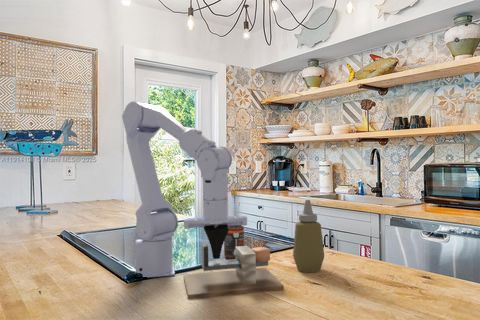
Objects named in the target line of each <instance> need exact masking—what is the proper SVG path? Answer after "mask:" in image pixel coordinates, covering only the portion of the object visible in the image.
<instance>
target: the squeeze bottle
mask: <svg viewBox="0 0 480 320" xmlns="http://www.w3.org/2000/svg"><path fill="white" fill-rule="evenodd" d="M294 226H295V227H294V228H295V229H294V239H293V250H292V251H293V252H292V257H293V260H294V263H295V267H296V269H297V270H298V271H300V272H304V273H316V272H319V271H321V269H322V266H323V262H324V259H325V248H324V240H323V232H322V224H321V223H320V222H318V214H317V213H314V211H313V207H312V204H311V200H310V199H305V201H304V206H303V211H302V212H301V213H299V214H298V221H297V222H296V223H295V225H294Z"/></svg>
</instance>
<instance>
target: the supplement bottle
mask: <svg viewBox="0 0 480 320" xmlns="http://www.w3.org/2000/svg"><path fill="white" fill-rule="evenodd" d="M244 227H245V226H243V225H234V226H228V228H229V231H228V234H227V235H226V238H225V240H224V243H223V249H224V250H223V252H224V253H223V254H224V257H225V258H228V259H236V255H235V247H238V246H245V228H244Z"/></svg>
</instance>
